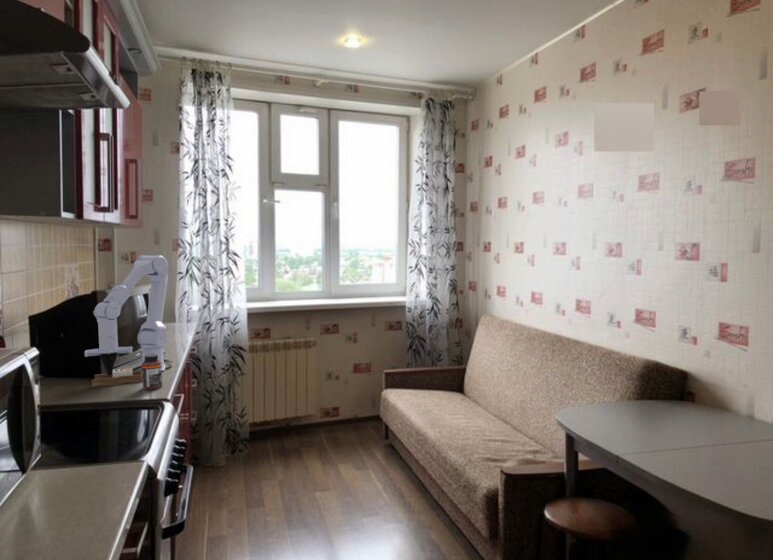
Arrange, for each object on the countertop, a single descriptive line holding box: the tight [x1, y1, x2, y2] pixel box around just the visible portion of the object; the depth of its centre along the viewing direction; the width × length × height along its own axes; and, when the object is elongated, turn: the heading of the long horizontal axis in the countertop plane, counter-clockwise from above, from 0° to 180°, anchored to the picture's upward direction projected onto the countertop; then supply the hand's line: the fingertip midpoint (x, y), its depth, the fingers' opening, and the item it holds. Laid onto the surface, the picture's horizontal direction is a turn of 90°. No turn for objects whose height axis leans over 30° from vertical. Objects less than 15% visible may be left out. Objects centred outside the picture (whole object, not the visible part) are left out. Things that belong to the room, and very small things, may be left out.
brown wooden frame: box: [91, 370, 143, 388], centre depth 180 cm, size 7×16×2 cm, turn 113°
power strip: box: [112, 367, 134, 377], centre depth 180 cm, size 3×6×4 cm, turn 113°
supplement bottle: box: [141, 354, 163, 391], centre depth 172 cm, size 6×6×11 cm
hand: (110, 374), depth 178 cm, fingers closed
